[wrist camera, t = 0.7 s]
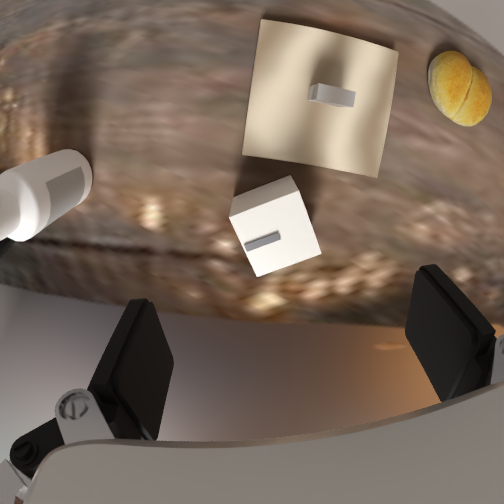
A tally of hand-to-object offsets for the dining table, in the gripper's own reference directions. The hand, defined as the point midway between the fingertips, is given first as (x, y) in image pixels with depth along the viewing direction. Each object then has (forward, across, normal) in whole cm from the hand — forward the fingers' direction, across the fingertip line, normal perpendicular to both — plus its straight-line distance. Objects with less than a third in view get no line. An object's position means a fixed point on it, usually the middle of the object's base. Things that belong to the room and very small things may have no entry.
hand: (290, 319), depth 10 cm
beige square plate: (+23, -7, -8) cm, 25 cm away
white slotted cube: (+23, -1, +4) cm, 24 cm away
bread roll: (+23, -24, -9) cm, 35 cm away
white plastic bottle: (+24, +22, -4) cm, 33 cm away
